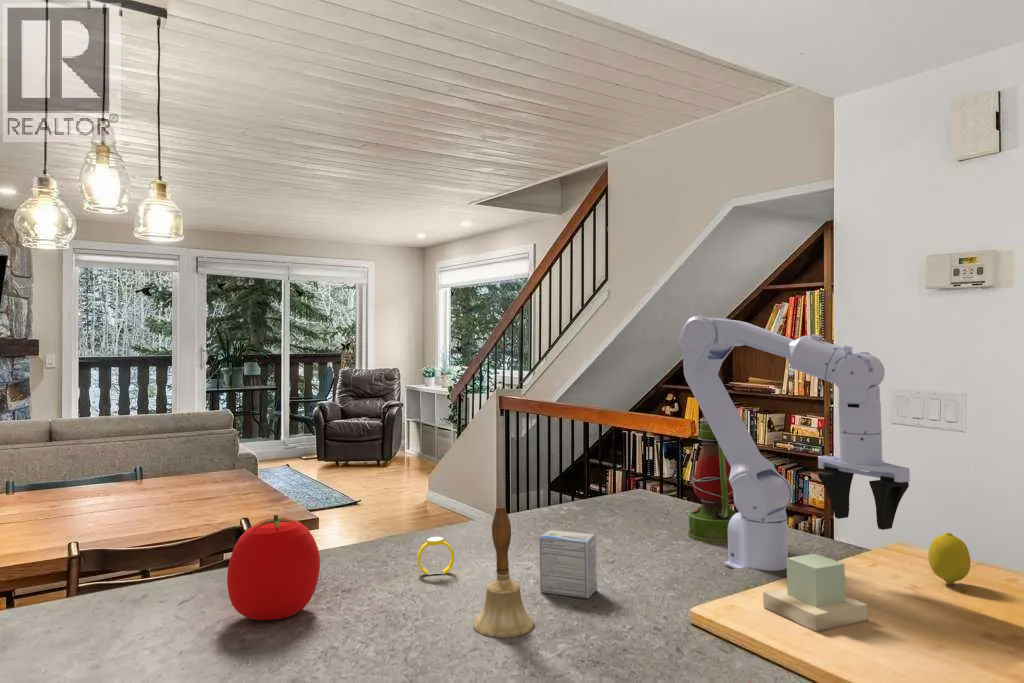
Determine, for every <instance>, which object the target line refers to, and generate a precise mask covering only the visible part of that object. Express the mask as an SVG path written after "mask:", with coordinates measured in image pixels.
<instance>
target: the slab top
mask: <svg viewBox="0 0 1024 683" xmlns="http://www.w3.org/2000/svg"><path fill="white" fill-rule="evenodd" d="M762 596H763V597H762V598H763V599H762V601H763V602H762V603H763V608H764V609H765V608H767V609H769V610H771V611H773V612H772V613H774V612H775V613H774V614H776V613H778V614H780V615H782V616H784V617H783V618H785V617H786V618H785V619H787V618H788V619H787V620H789V619H791V620H793V621H795V622H797V623H796V624H798V623H799V624H798V625H800V624H801V625H800V626H802V625H803V626H802V627H804V626H806V627H808V628H807V629H809V628H810V629H809V630H811V629H812V630H811V631H813V630H814V631H813V632H815V631H819V630H823V629H828V628H832V627H837V626H841V625H846V624H850V623H855V622H859V621H864V620H867V619H868V604H867V603H864V602H862V601H859V600H857V599H854V598H852V597H850V596H847V595H845V602H842V603H837V604H832V605H827V606H821V607H814V606H812V605H809V604H807V603H805V602H802V601H800V600H798V599H796V598H793V597H791V596H789V595H787V587H784V588H779V589H775V590H774V589H773V590H769V591H764V592H763V593H762ZM767 609H766V610H767ZM769 610H768V611H769ZM771 611H770V612H771ZM778 614H777V615H778ZM780 615H779V616H780ZM782 616H781V617H782ZM791 620H790V621H791ZM793 621H792V622H793ZM795 622H794V623H795ZM806 627H805V628H806Z"/></svg>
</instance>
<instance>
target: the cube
mask: <svg viewBox="0 0 1024 683" xmlns="http://www.w3.org/2000/svg"><path fill="white" fill-rule="evenodd" d="M845 567H846V566H845V563H844V562H840V561H838V560H835V559H832V558H829V557H827V556H823V555H820V554H817V553H809V554H803V555H797V556H789V557H788V558H787V568H786V588H787V595H789V596H791V597H793V598H796V599H798V600H800V601H802V602H805V603H807V604H809V605H812V606H814V607H821V606H827V605H832V604H837V603H842V602H845V596H846V580H845V579H846V577H845V575H846V572H845V570H846V568H845Z"/></svg>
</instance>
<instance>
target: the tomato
mask: <svg viewBox="0 0 1024 683" xmlns="http://www.w3.org/2000/svg"><path fill="white" fill-rule="evenodd" d="M314 537H315V536H313V534H312V533H311V531H310V530H309V529H308V527H307V526H305V525H304V524H303V523H302V522H301V521H299V520H296V519H295V520H294V519H291V518H289V517H288V516H287V517H285V516H283V517H279V515H278V514H274V515H273V518H266V519H262V520H260V521H258V522H257V523H256V524H253V525H252V526H250V527H249V528H247V529H246V530H245V531H244V532H243V533H242V534H241V536H240V537H239V538H238V540H237V541H236V543H235V545H234V547H233V550H232V552H231V556H230V557H229V561H228V562H229V563H228V566H227V576H226V583H227V584H226V585H227V593H228V597H229V600H230V603H231V605H232V607H233V608H234V609H235V611H236V613H239V614H240V615H242V616H243V617H245V618H247V619H251V620H254V621H271V620H272V621H275V620H283V619H287V618H290V617H292V616H294V615H296V614H298V613H300V612H301V611H303V610H304V608H305V607H306V606H307V605H308V604H309V603H310V601H311V599H312V598H313V595H314V594H315V590H316V588H317V585H318V581H319V576H320V570H321V568H320V567H321V557H320V550H319V547H318V545H317V542H316V540H315V538H314Z"/></svg>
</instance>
